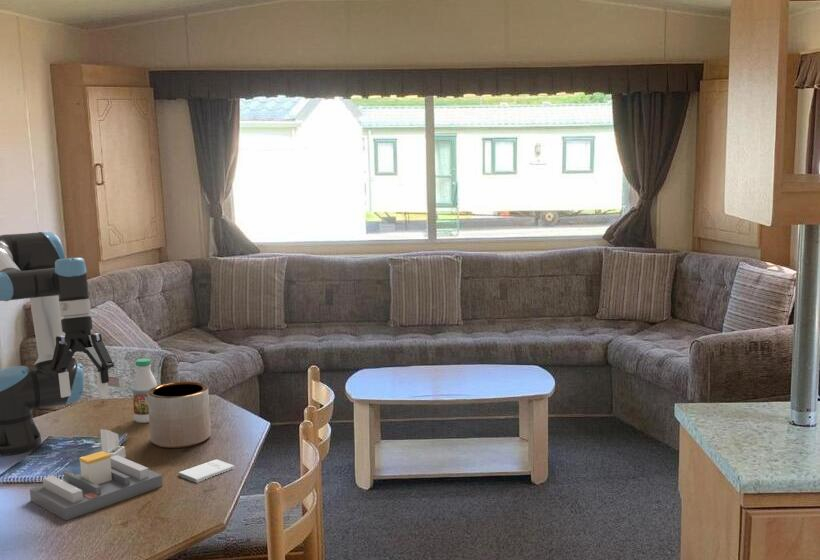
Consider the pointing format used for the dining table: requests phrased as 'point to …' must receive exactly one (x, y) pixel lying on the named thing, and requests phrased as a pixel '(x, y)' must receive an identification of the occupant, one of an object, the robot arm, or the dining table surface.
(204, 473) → the external hard drive
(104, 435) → the white angled block
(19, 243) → the robot arm
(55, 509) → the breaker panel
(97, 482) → the block
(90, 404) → the dining table surface
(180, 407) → the planter
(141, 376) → the milk bottle
